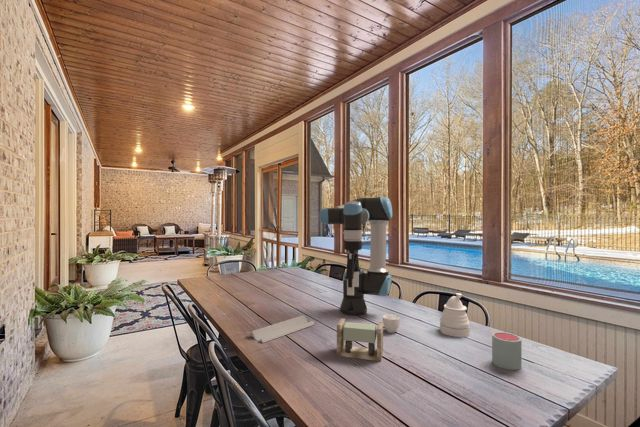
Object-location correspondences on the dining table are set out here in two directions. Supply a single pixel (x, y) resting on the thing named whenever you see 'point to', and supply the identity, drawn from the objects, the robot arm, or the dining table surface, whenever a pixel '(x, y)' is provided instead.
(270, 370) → the dining table surface
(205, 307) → the dining table surface
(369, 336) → the pale green block
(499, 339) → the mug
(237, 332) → the dining table surface
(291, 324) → the crown molding
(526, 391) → the dining table surface
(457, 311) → the honey pot
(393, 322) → the cup
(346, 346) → the frame
